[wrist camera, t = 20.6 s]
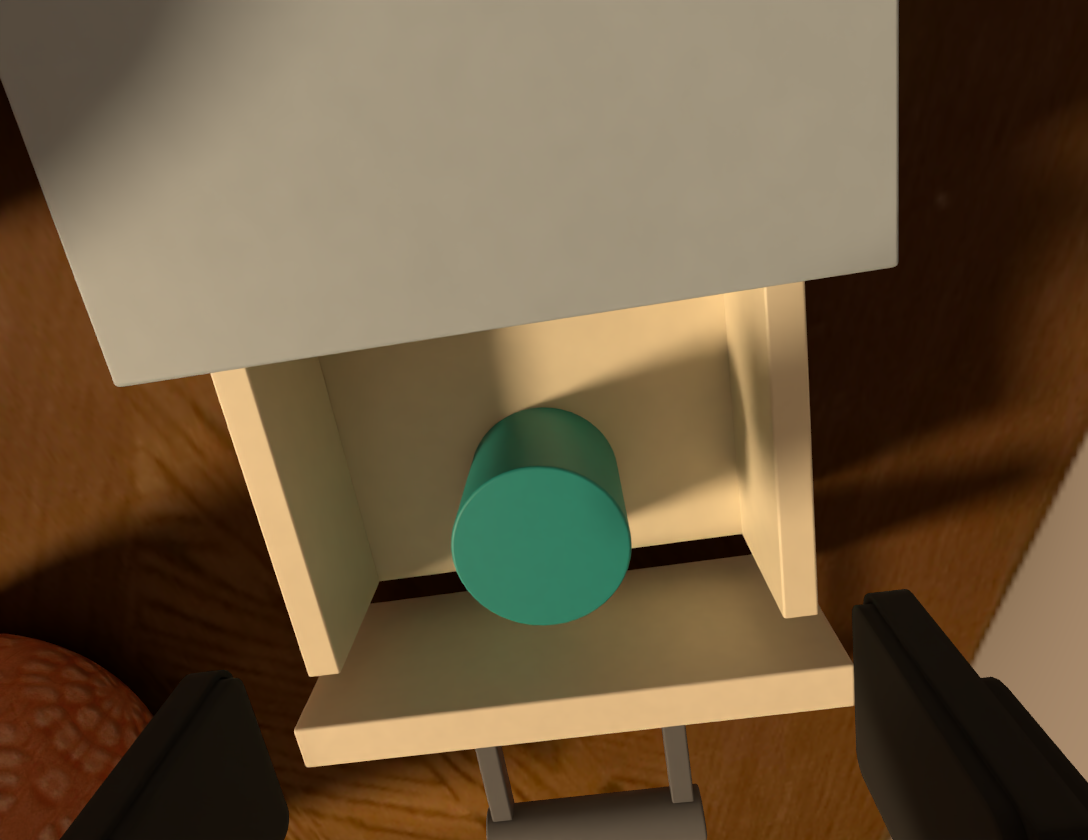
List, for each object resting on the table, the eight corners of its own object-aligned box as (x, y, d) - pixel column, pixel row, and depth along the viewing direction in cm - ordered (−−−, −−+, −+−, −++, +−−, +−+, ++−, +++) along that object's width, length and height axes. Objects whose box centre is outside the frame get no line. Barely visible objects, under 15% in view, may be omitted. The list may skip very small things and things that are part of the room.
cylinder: (608, 396, 19) (619, 454, 15) (626, 530, 20) (642, 615, 16) (458, 418, 19) (433, 480, 15) (486, 549, 21) (469, 636, 17)
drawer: (796, 719, 24) (860, 868, 19) (397, 764, 25) (356, 917, 20) (761, 105, 18) (842, 82, 13) (232, 196, 18) (111, 209, 13)
